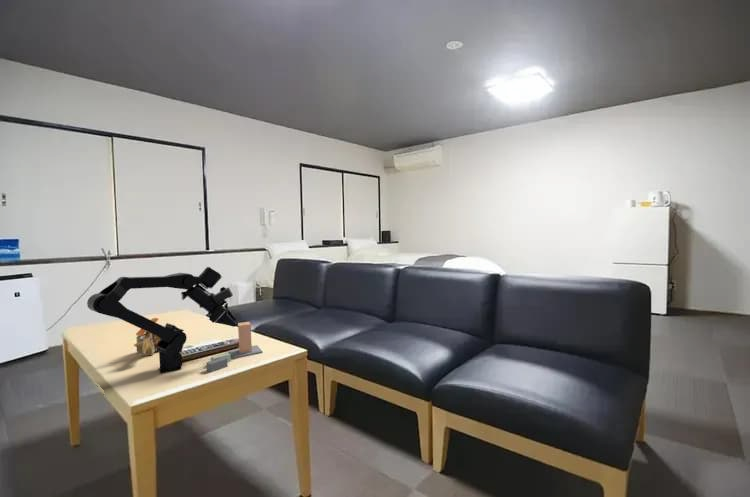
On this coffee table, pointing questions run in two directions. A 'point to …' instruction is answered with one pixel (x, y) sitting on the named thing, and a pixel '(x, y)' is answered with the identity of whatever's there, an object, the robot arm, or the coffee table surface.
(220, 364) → the charcoal brick
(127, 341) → the coffee table surface
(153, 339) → the toy house
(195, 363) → the coffee table surface
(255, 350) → the slate pad
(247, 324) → the terracotta block
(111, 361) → the coffee table surface
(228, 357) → the sage brick
